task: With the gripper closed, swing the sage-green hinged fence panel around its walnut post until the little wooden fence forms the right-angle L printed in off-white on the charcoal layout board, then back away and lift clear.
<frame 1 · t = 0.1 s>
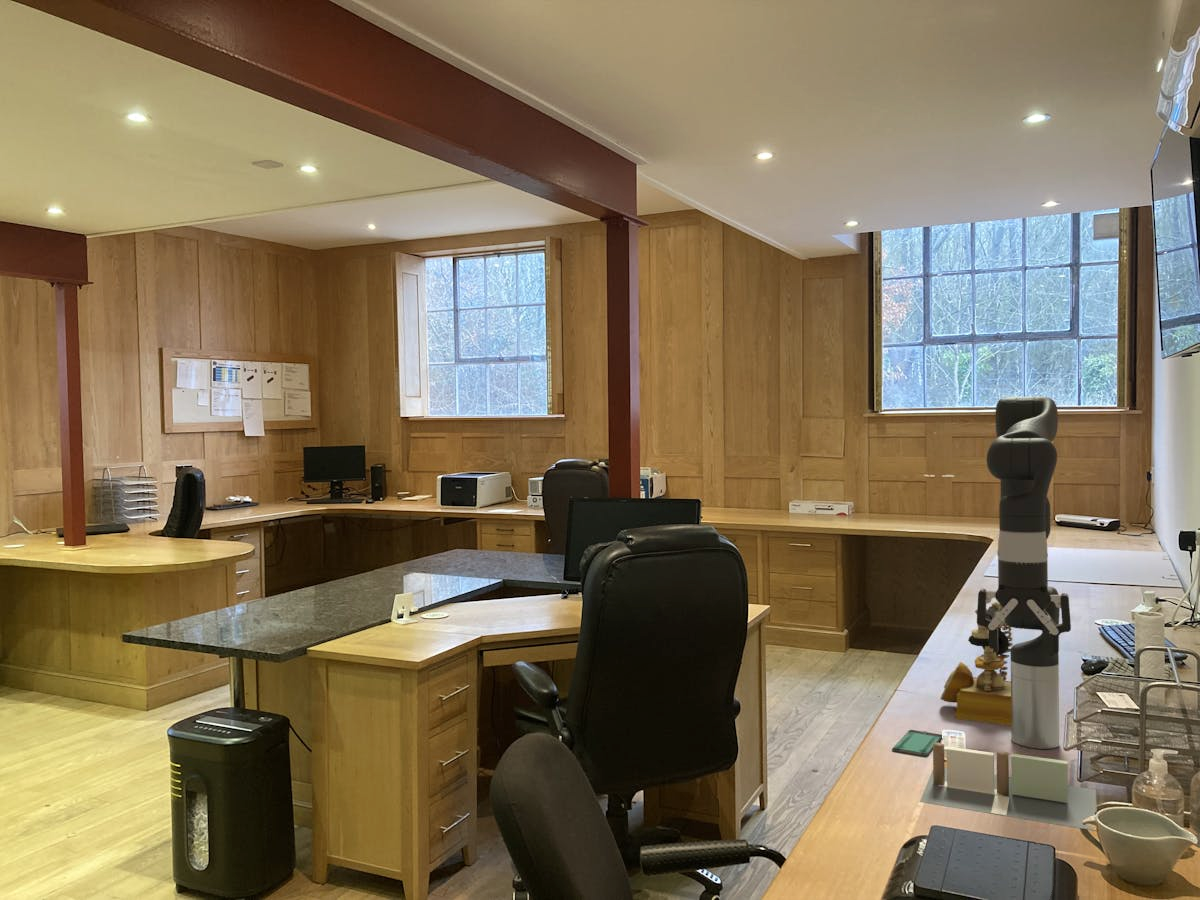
hand: (1023, 653, 153), 29 cm above the table, tool pointing down, fingers open, 8 cm apart
layout board: (1008, 797, 166), on the table
fence gate panel: (1039, 777, 164), point 4 cm above the table, hinge at 0.0°
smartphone: (917, 747, 193), on the table
fence fixed section: (1002, 795, 166), resting on layout board
tan ornate piece: (983, 707, 218), on the table
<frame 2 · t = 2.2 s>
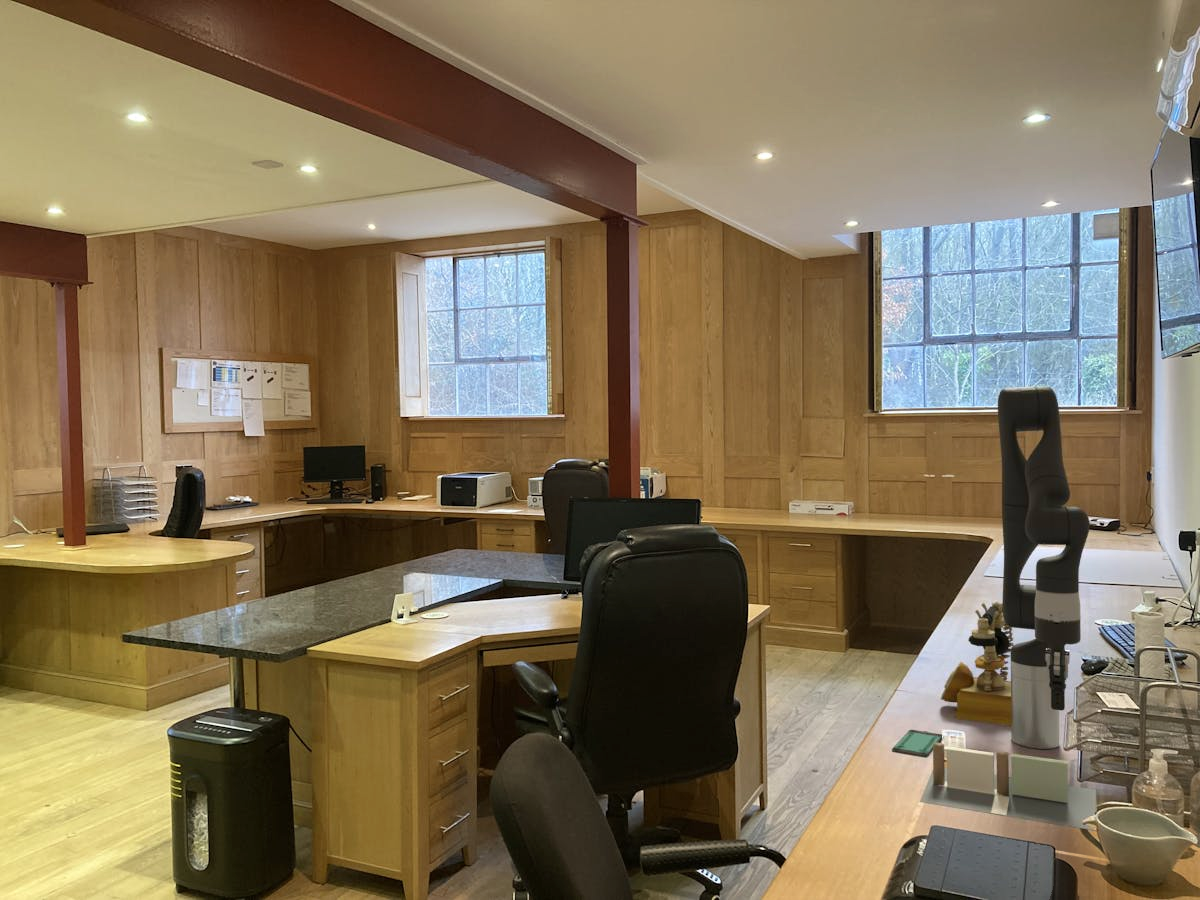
hand: (1057, 708, 168), 15 cm above the table, tool pointing down, fingers closed
nothing on the table moved.
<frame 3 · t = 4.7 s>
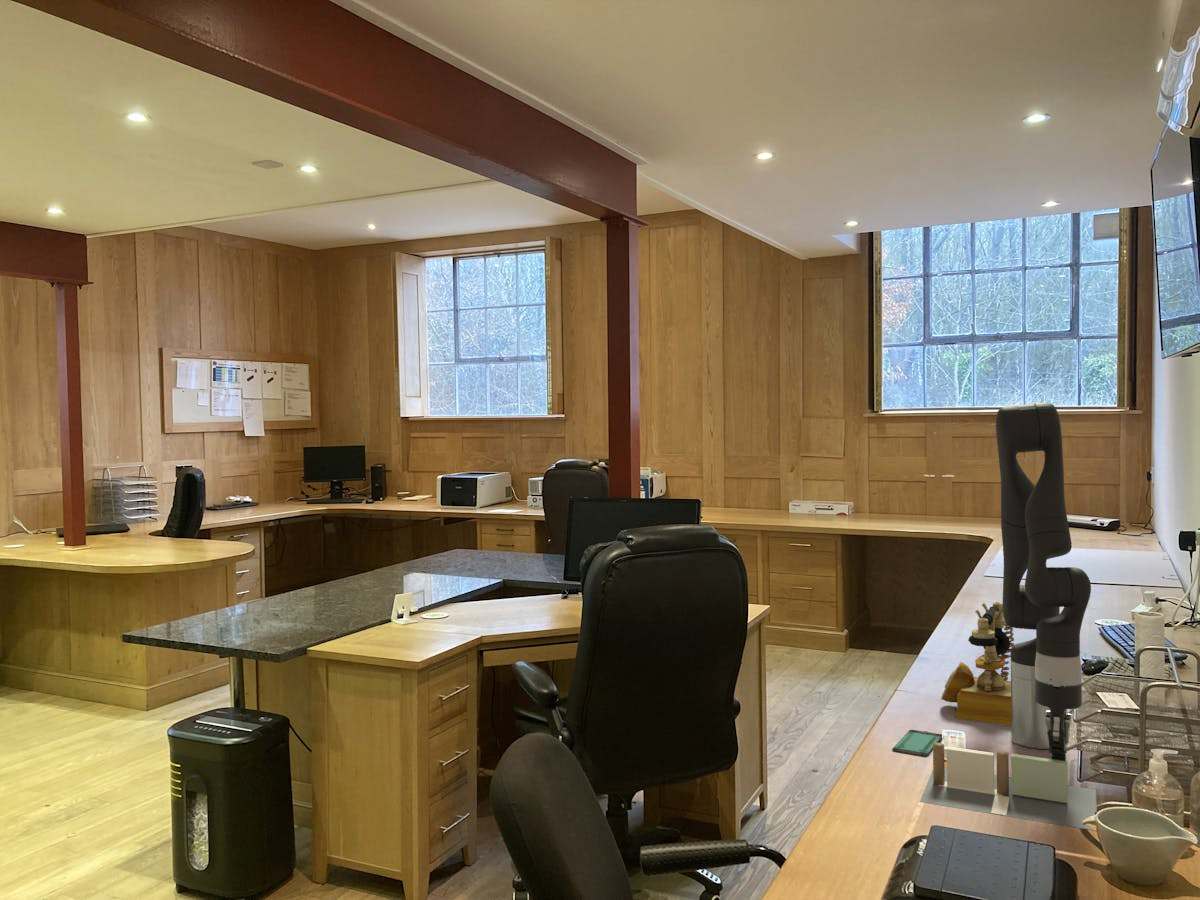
hand: (1058, 773, 165), 5 cm above the table, tool pointing down, fingers closed
fence gate panel: (1039, 777, 163), point 4 cm above the table, hinge at 0.6°, touching gripper
everything else where it was.
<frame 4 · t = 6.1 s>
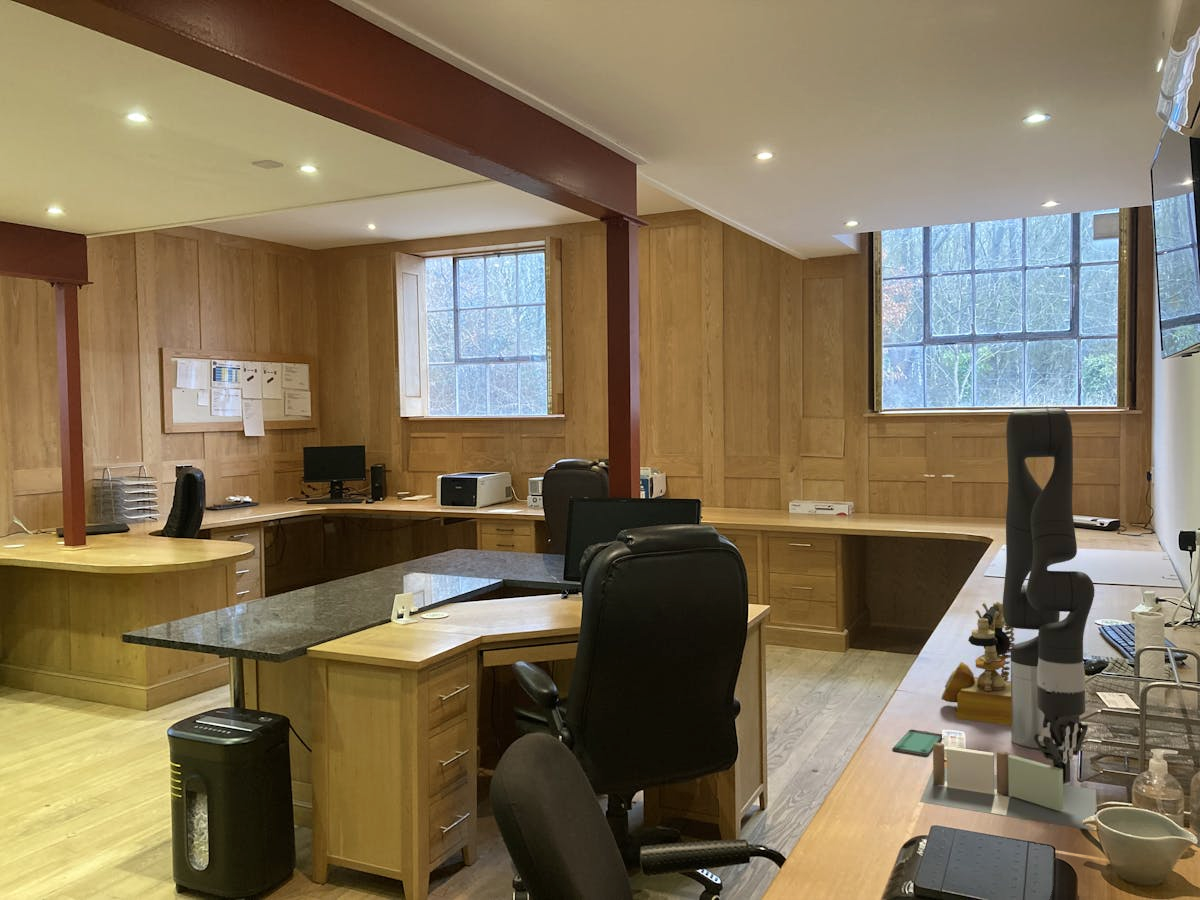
hand: (1061, 781, 161), 5 cm above the table, tool pointing down, fingers closed
fence gate panel: (1035, 782, 162), point 4 cm above the table, hinge at 24.9°, touching gripper
everything else where it was.
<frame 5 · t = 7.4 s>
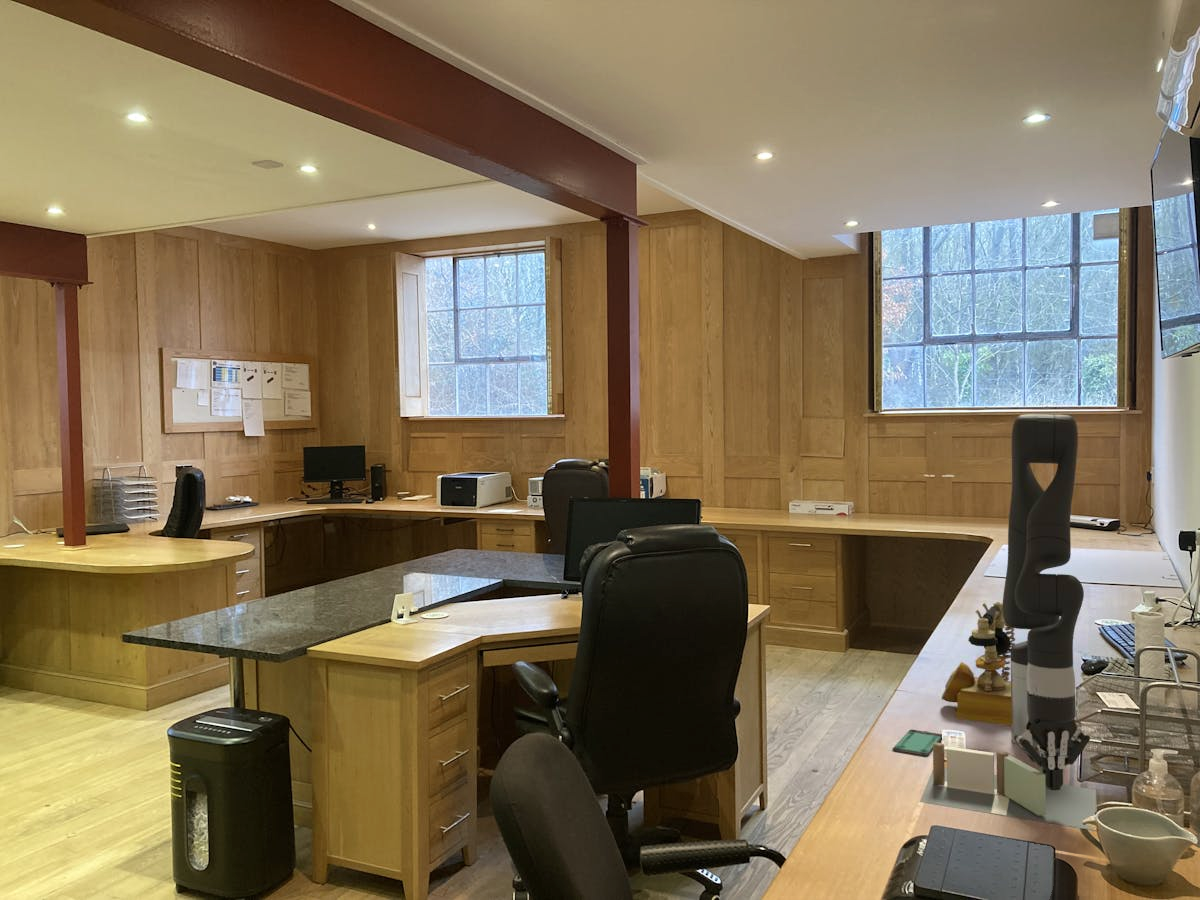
hand: (1052, 788, 158), 5 cm above the table, tool pointing down, fingers closed
fence gate panel: (1024, 785, 160), point 4 cm above the table, hinge at 50.7°, touching gripper
everything else where it was.
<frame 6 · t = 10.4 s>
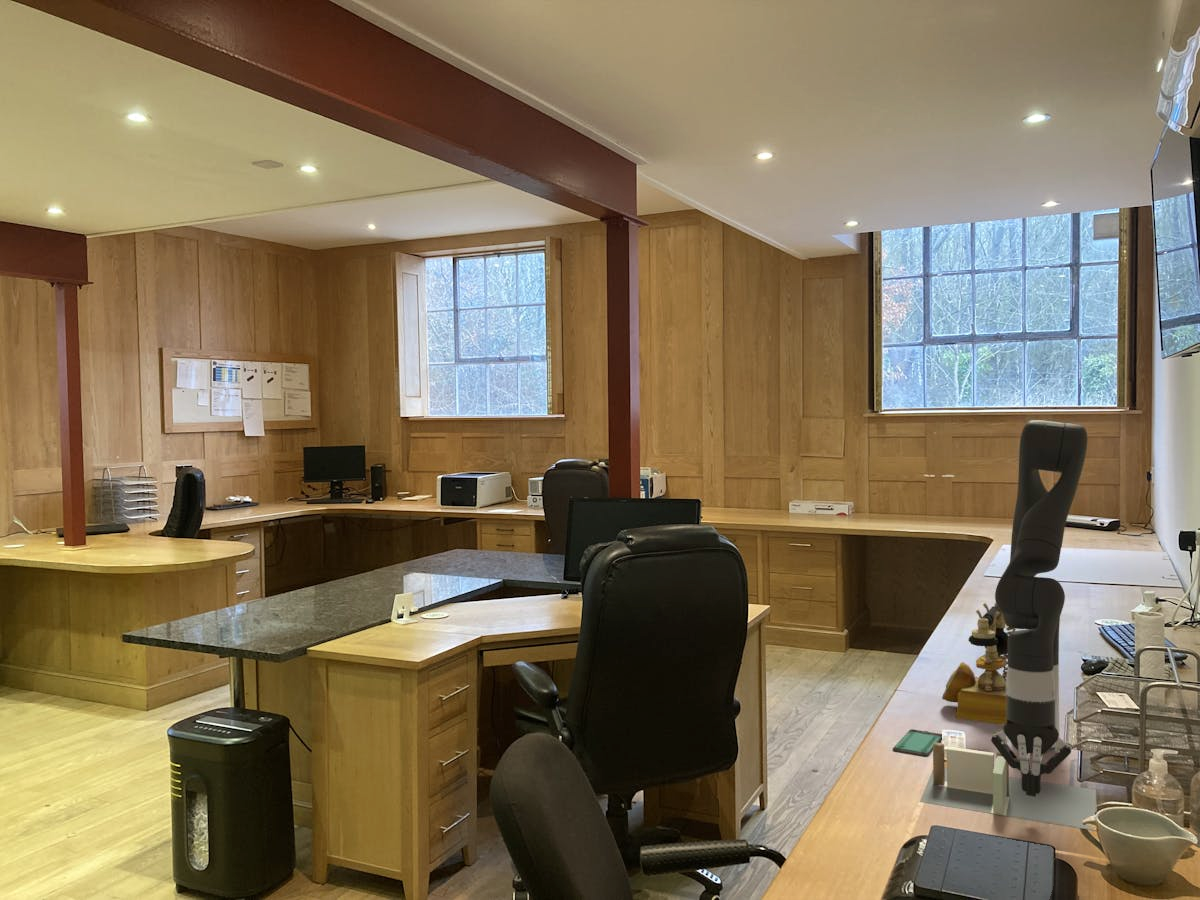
hand: (1031, 794, 156), 5 cm above the table, tool pointing down, fingers closed
fence gate panel: (999, 784, 161), point 4 cm above the table, hinge at 90.3°
everything else where it was.
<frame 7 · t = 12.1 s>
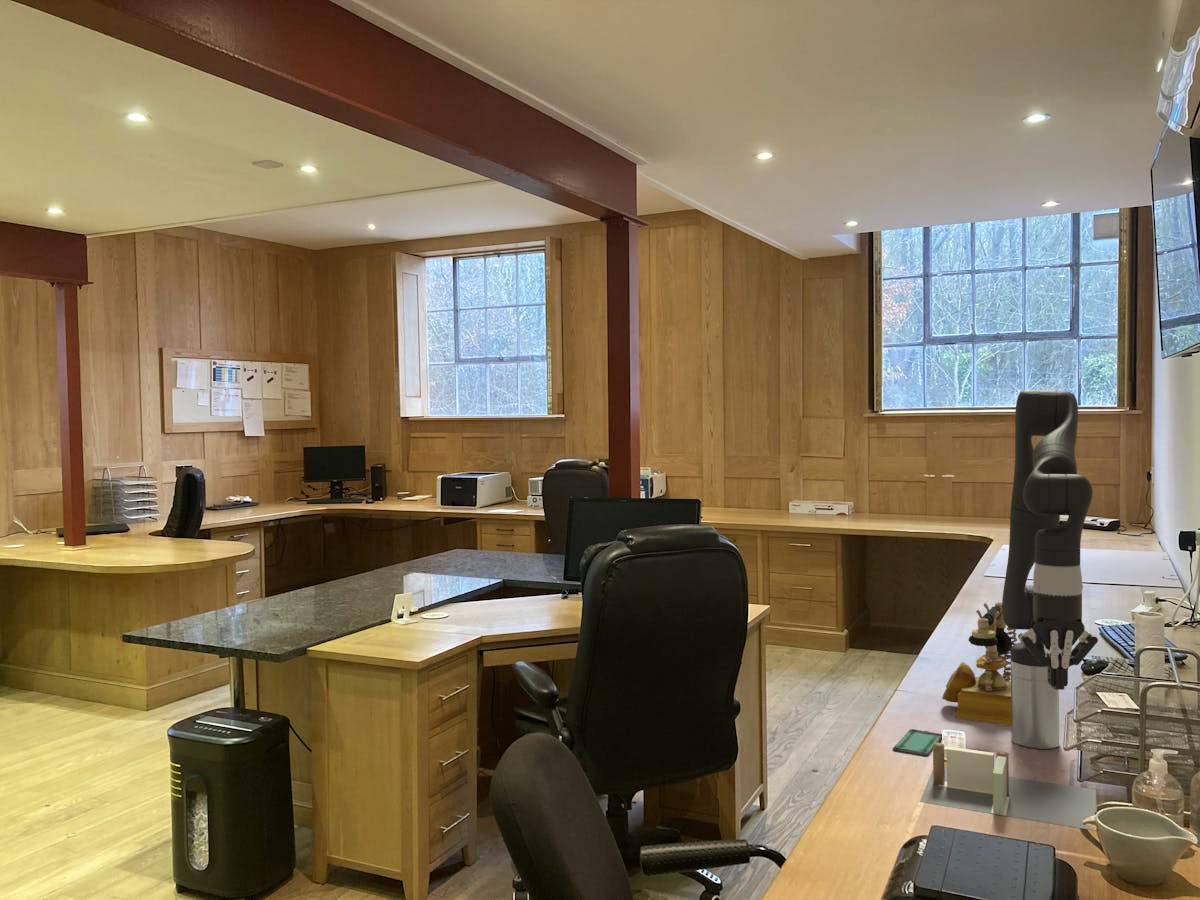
hand: (1057, 688, 159), 22 cm above the table, tool pointing down, fingers closed
nothing on the table moved.
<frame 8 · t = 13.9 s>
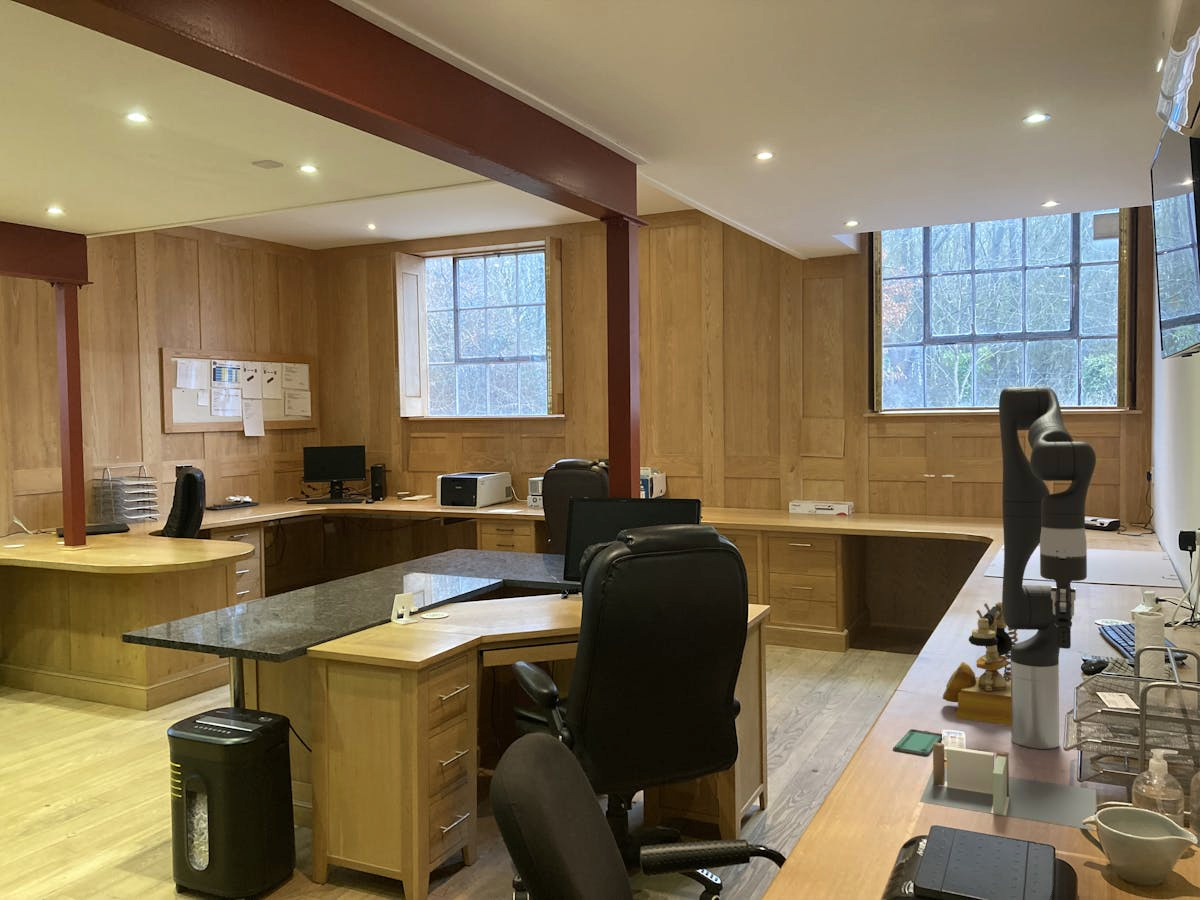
hand: (1063, 647, 166), 27 cm above the table, tool pointing down, fingers closed
nothing on the table moved.
at the end: fence gate panel at +90° (first picture: +0°); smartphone moved 0.8 cm from its start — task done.
